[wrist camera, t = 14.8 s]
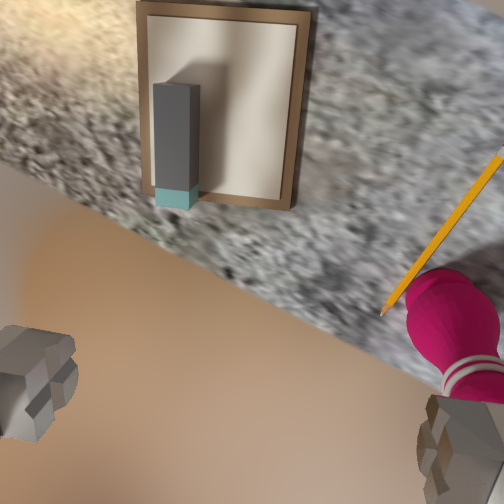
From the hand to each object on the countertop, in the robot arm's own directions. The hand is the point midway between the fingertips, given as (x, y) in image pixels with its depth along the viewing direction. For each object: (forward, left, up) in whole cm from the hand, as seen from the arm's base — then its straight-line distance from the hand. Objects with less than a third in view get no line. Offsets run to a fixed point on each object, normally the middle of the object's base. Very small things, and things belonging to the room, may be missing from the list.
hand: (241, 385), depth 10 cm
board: (+8, -2, -31) cm, 32 cm away
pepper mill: (-14, +13, -31) cm, 37 cm away
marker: (+11, +1, -30) cm, 32 cm away
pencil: (-13, +7, -32) cm, 35 cm away
